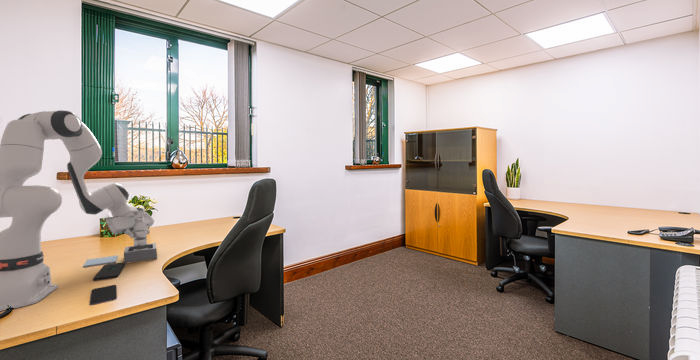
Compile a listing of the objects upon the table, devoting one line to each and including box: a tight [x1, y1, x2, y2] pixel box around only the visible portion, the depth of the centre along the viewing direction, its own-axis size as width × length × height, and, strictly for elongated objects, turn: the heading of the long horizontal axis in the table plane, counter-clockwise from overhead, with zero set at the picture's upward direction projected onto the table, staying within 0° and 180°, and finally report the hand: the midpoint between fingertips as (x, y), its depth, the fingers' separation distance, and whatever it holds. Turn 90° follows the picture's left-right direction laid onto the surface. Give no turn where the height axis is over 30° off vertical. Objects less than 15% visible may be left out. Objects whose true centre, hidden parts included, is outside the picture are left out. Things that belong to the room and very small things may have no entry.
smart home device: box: [92, 261, 127, 282], centre depth 134 cm, size 8×2×20 cm
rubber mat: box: [82, 255, 119, 268], centre depth 149 cm, size 12×12×1 cm
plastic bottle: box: [131, 217, 148, 251], centre depth 153 cm, size 6×7×20 cm
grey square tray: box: [123, 242, 158, 264], centre depth 154 cm, size 13×13×5 cm
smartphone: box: [89, 284, 118, 306], centre depth 109 cm, size 7×1×15 cm
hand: (141, 235), depth 153 cm, fingers closed on plastic bottle, 6 cm apart
